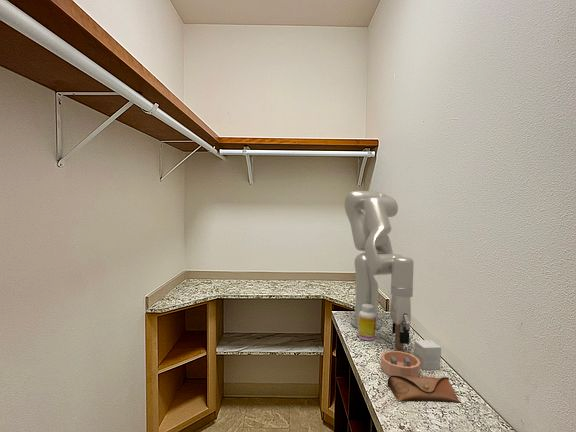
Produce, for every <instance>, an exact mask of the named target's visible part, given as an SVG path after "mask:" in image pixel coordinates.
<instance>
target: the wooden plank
mask: <svg viewBox="0 0 576 432" xmlns="http://www.w3.org/2000/svg"><path fill="white" fill-rule="evenodd" d="M403 327H404V326H403ZM400 332H401V329H400V324H398V325H396V326H395V334H394V348H395V351H402V352H404V344H401V343H400V342H399V341H400Z"/></svg>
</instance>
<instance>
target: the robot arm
mask: <svg viewBox="0 0 576 432" xmlns="http://www.w3.org/2000/svg"><path fill="white" fill-rule="evenodd" d="M344 210H345V214H346V216H347V218H348V221H349V224H350V228H351V234H352V239H353V244H354V248H355V249H356V250H357V251H361V252H363V253H360V254H358V255H356V257H355V259H354V270H355V300H354V301H355V302H354V303H355V304H354V318H352V319H350V325H351V326H352V327H354V328H356V329H358V327H359V312H360V311H362V305H363V304H371V305H373V306H374V310H373V312H375V313H376V331H377V330H379V329H380V328H381V327H382V326H381V325H382V324H381V322H379V321H378V305H379V284H378V281H377V280H376V278H375V276H382V275H384V276H385V275H391V276H390V277H391V279H390V295H391V301H390V312H389V313H390V314H389V317H390V319H391V320H392V329H391V332H392V334H394V335H395V326H396V325H398V324H400V329H401V332H400V341H399V342H400V343H401V344H403V345H409V344H410V332H411V331H410V329H411V328H410V327H411V319H412V305H411V303H412V302H411V301H412V300H411V298H412V297H413V293H414V265H415V264H414V260H413V259H412V258H410V257H408V256H403V255H401V254H398V253H394V252H393V248H392V243H391V240H390V237H389V235H388V234H390V233H391V232H392V226H391V223H390V219H389V218H393V217H395V216H396V215H397V213H398V211H399V206H398V203H397V201H396V200H395V199H394V198H393V197H392V196H390V195H388V194H385V193H383V192H381V191H373V190H372V191H369V190H353V191H350V192H348V193H347V194H346V195H345V198H344ZM363 210H364V212H363ZM403 326H404V327H403Z"/></svg>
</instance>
